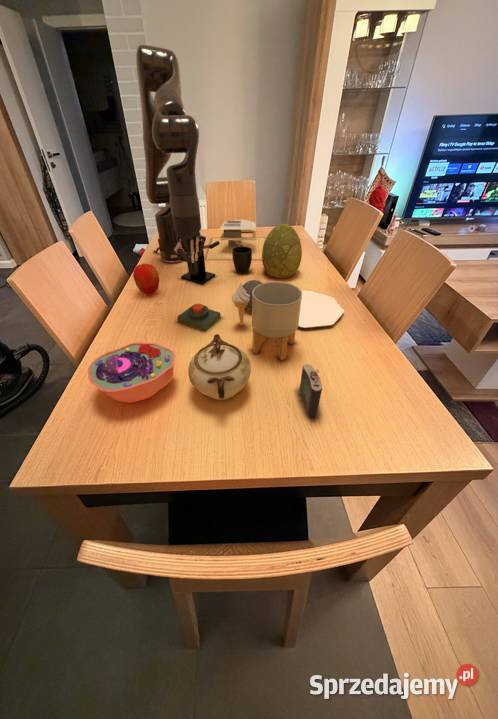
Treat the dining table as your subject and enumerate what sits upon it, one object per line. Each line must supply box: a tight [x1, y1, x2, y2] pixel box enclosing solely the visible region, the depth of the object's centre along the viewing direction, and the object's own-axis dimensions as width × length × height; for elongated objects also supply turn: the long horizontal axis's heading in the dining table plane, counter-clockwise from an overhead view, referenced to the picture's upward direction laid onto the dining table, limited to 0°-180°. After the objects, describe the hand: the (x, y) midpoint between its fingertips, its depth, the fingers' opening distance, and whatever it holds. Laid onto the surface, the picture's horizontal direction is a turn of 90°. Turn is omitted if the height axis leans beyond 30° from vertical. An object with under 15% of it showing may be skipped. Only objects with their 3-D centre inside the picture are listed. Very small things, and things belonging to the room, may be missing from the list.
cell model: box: [87, 341, 176, 404], centre depth 72 cm, size 17×20×11 cm
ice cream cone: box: [231, 283, 250, 327], centre depth 93 cm, size 6×6×15 cm
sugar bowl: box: [187, 333, 252, 401], centre depth 71 cm, size 20×15×15 cm
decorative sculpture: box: [261, 223, 303, 279], centre depth 122 cm, size 16×16×20 cm
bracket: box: [180, 249, 216, 286], centre depth 121 cm, size 11×9×14 cm
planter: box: [251, 281, 302, 361], centre depth 83 cm, size 13×13×18 cm
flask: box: [298, 363, 323, 419], centre depth 68 cm, size 9×3×11 cm, turn 8°
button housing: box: [177, 304, 222, 332], centre depth 99 cm, size 11×9×4 cm
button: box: [191, 303, 205, 313], centre depth 97 cm, size 4×4×2 cm
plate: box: [298, 290, 345, 329], centre depth 104 cm, size 24×24×2 cm
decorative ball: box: [242, 279, 263, 310], centre depth 103 cm, size 10×10×10 cm
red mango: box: [132, 262, 160, 296], centre depth 111 cm, size 9×9×12 cm
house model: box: [205, 218, 267, 260], centre depth 147 cm, size 29×30×12 cm
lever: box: [203, 241, 220, 250], centre depth 115 cm, size 12×5×2 cm, turn 60°
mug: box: [232, 245, 253, 275], centre depth 128 cm, size 8×12×10 cm
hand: (193, 272), depth 91 cm, fingers closed
